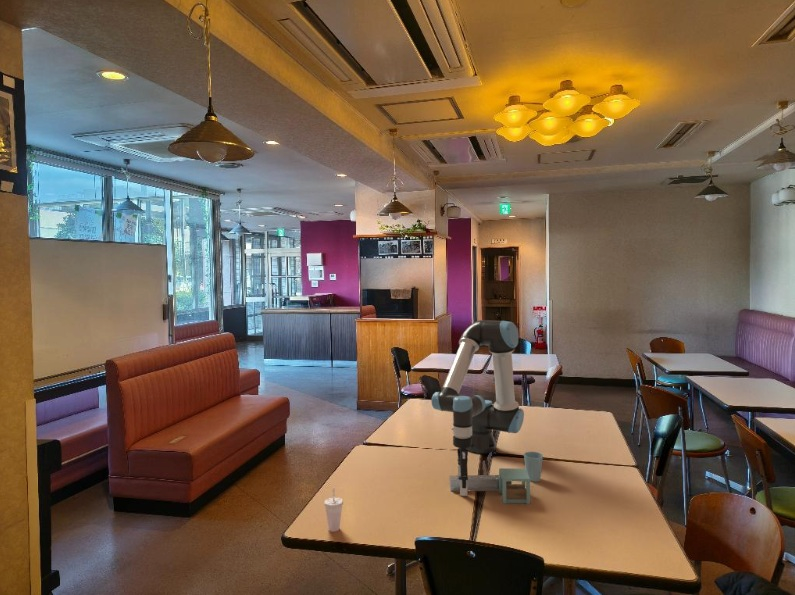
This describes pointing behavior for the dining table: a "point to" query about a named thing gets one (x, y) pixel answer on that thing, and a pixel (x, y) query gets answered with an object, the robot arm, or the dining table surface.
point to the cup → (533, 465)
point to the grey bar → (477, 482)
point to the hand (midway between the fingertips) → (462, 488)
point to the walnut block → (515, 491)
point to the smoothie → (333, 512)
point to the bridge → (513, 475)
